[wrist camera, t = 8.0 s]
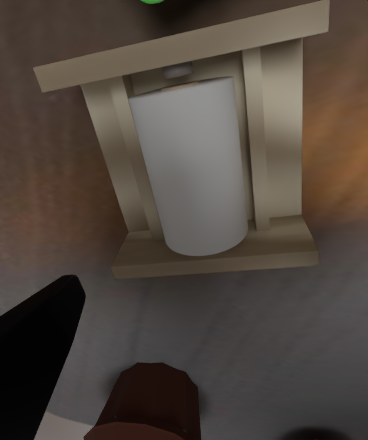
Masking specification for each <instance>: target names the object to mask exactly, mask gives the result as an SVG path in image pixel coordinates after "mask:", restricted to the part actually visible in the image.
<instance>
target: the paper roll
mask: <svg viewBox="0 0 368 440" xmlns="http://www.w3.org/2000/svg"><path fill="white" fill-rule="evenodd" d="M128 100H129V104H130V108H131V112H132V115H133V119H134V123H135V127H136V131H137V135H138V138H139V142H140V146H141V150H142V154H143V158H144V161H145V165H146V169H147V173H148V177H149V180H150V184H151V188H152V192H153V196H154V200H155V203H156V207H157V211H158V215H159V219H160V223H161V226H162V230H163V234H164V238H165V242H166V244H167V246H168V247H169V248H170V249H171V250H173V251H175V252H177V253H179V254H183V255H189V256H206V255H212V254H217V253H220V252H223V251H226V250H228V249H230V248H232V247H234V246H236V245H237V244H238V243H240V242H241V241H242V240H243V239H244V238H245V236H246V234H247V232H248V221H247V210H246V200H245V190H244V179H243V169H242V159H241V149H240V138H239V128H238V118H237V107H236V97H235V87H234V77H233V76H225V77H216V78H210V79H203V80H198V81H192V82H187V83H182V84H177V85H173V86H169V87H164V88H160V89H156V90H152V91H148V92H145V93H141V94H138V95H135V96H132V97H130V98H129V99H128Z"/></svg>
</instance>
